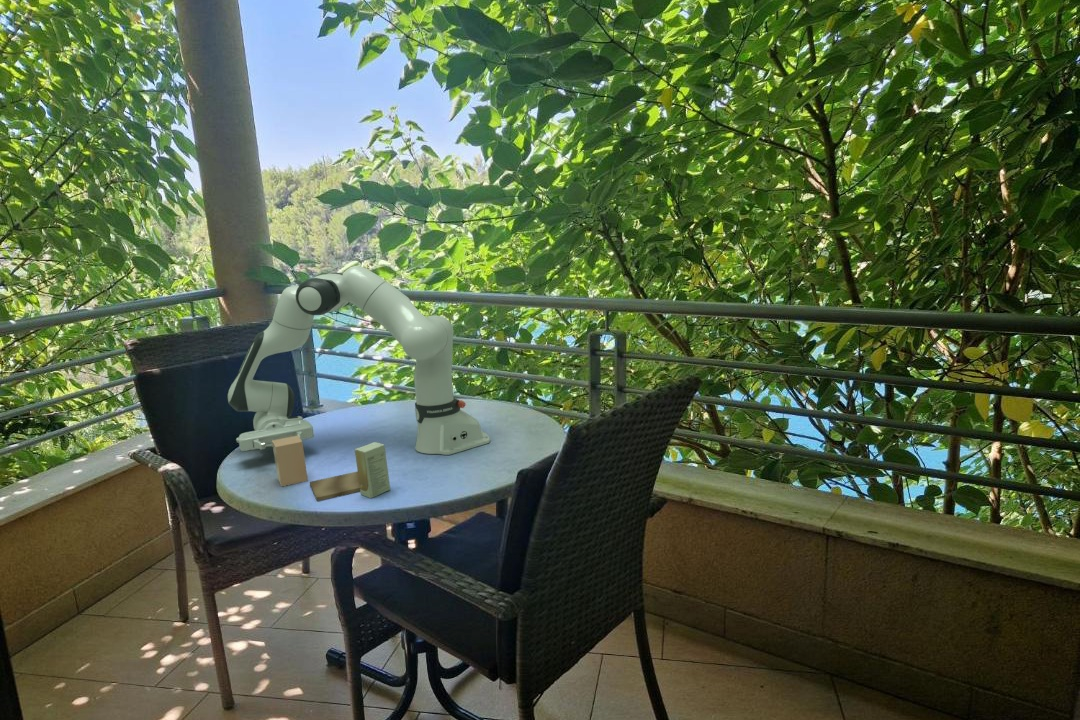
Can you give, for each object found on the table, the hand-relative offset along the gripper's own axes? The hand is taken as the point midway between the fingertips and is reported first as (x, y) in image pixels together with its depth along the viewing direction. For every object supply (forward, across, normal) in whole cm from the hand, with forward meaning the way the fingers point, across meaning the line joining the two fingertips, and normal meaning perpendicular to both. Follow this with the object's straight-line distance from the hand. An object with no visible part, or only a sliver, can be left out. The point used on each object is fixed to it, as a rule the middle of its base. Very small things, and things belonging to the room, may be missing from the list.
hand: (280, 443), depth 176 cm
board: (+26, +10, +7) cm, 28 cm away
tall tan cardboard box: (+12, 0, +7) cm, 14 cm away
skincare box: (+35, +16, +7) cm, 39 cm away
